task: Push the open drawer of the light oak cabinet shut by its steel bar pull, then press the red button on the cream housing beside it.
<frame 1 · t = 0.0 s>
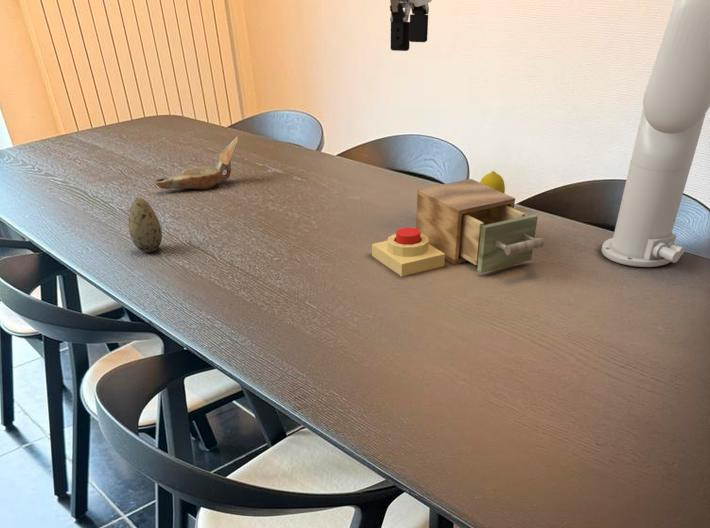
hand: (409, 46, 117), 31 cm above the table, tool pointing down, fingers open, 9 cm apart
red button: (408, 236, 121), point 4 cm above the table, slide at 0.1 cm
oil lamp: (201, 188, 161), on the table
lemon: (488, 212, 142), on the table
button box: (407, 261, 123), on the table
decorative egg: (150, 252, 131), on the table
cabinet: (460, 245, 128), on the table
drawer: (495, 237, 118), point 5 cm above the table, slide at 6.0 cm
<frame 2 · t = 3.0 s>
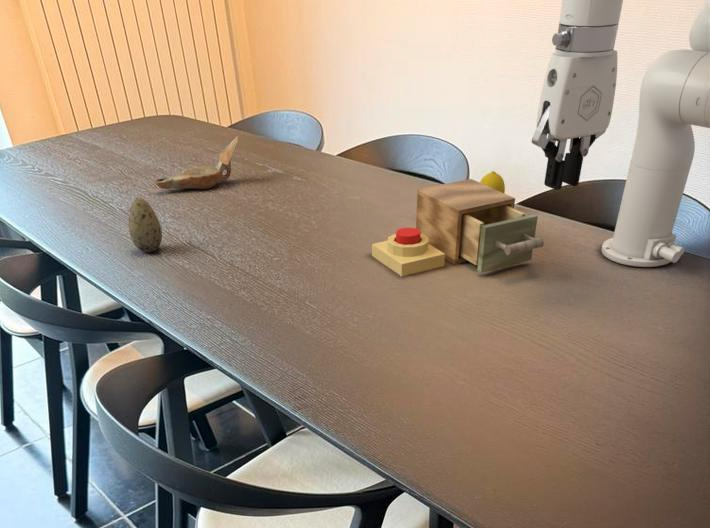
hand: (561, 184, 101), 17 cm above the table, tool pointing down, fingers closed
nothing on the table moved.
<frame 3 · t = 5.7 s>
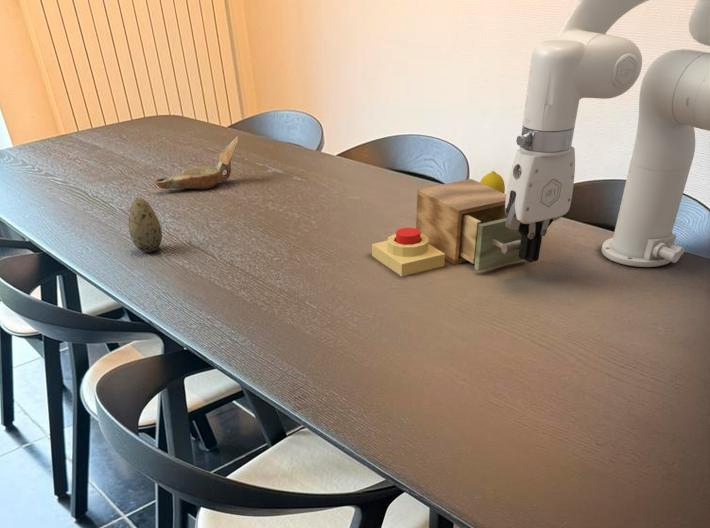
hand: (528, 258, 112), 4 cm above the table, tool pointing down, fingers closed
drawer: (492, 235, 119), point 5 cm above the table, slide at 5.1 cm, touching gripper
everything else where it was.
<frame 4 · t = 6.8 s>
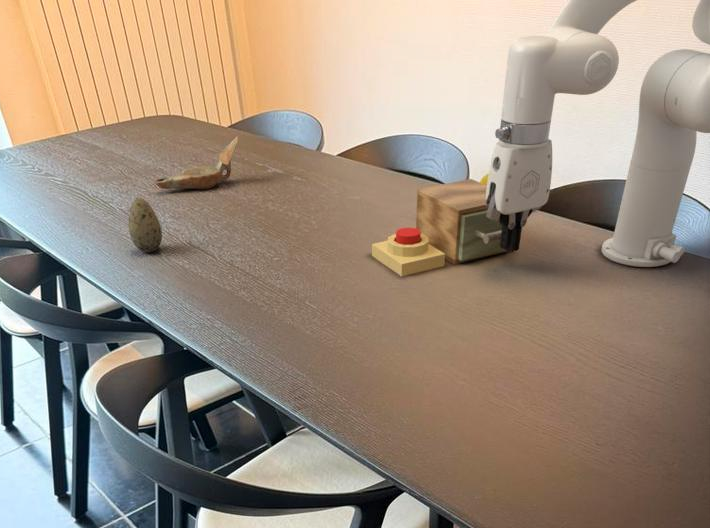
hand: (509, 248, 116), 4 cm above the table, tool pointing down, fingers closed
drawer: (475, 227, 122), point 5 cm above the table, slide at 0.0 cm, touching cabinet, gripper
everything else where it was.
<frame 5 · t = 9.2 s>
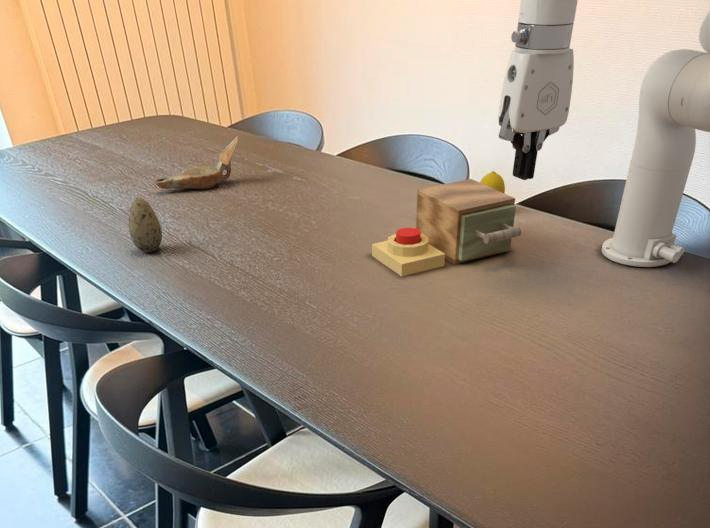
hand: (522, 177, 105), 17 cm above the table, tool pointing down, fingers closed
drawer: (475, 227, 122), point 5 cm above the table, slide at 0.0 cm, touching cabinet
everything else where it was.
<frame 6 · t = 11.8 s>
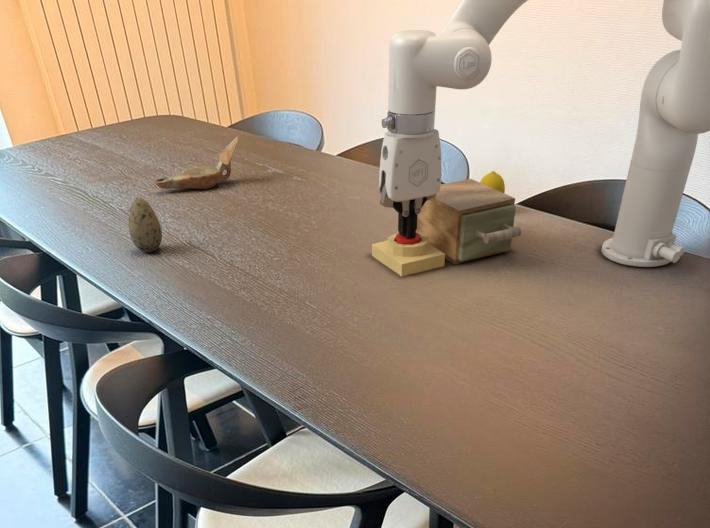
hand: (407, 235, 120), 5 cm above the table, tool pointing down, fingers closed
red button: (408, 240, 121), point 4 cm above the table, slide at -0.6 cm, touching gripper
everything else where it was.
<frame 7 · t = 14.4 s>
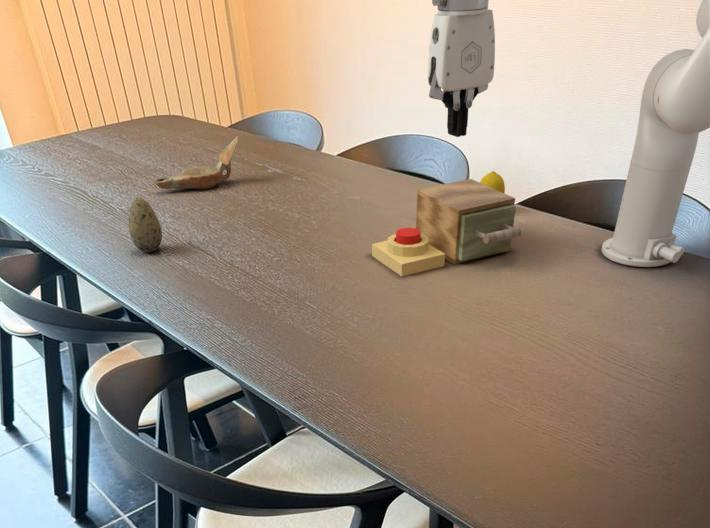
hand: (456, 134, 113), 20 cm above the table, tool pointing down, fingers closed
red button: (408, 236, 121), point 4 cm above the table, slide at 0.1 cm
everything else where it was.
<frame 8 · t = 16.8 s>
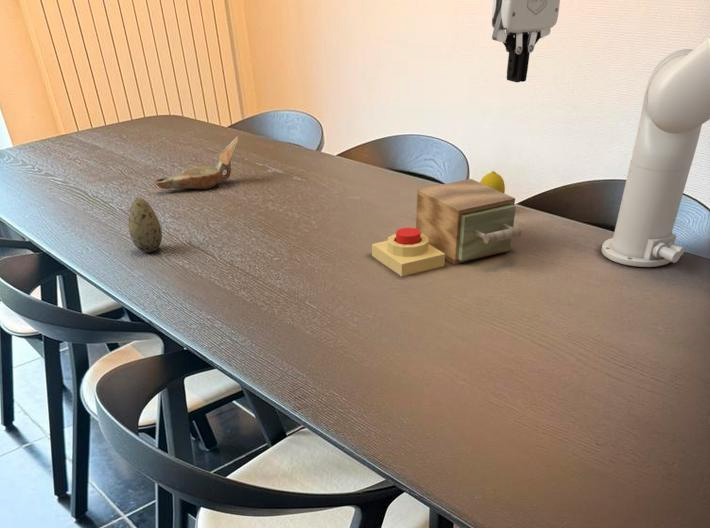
hand: (516, 80, 112), 27 cm above the table, tool pointing down, fingers closed
nothing on the table moved.
at the end: drawer slide at 0.0 cm; red button pushed in 1.0 cm at the most during the clip, back to where it started at the end; red button slide at 0.1 cm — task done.
